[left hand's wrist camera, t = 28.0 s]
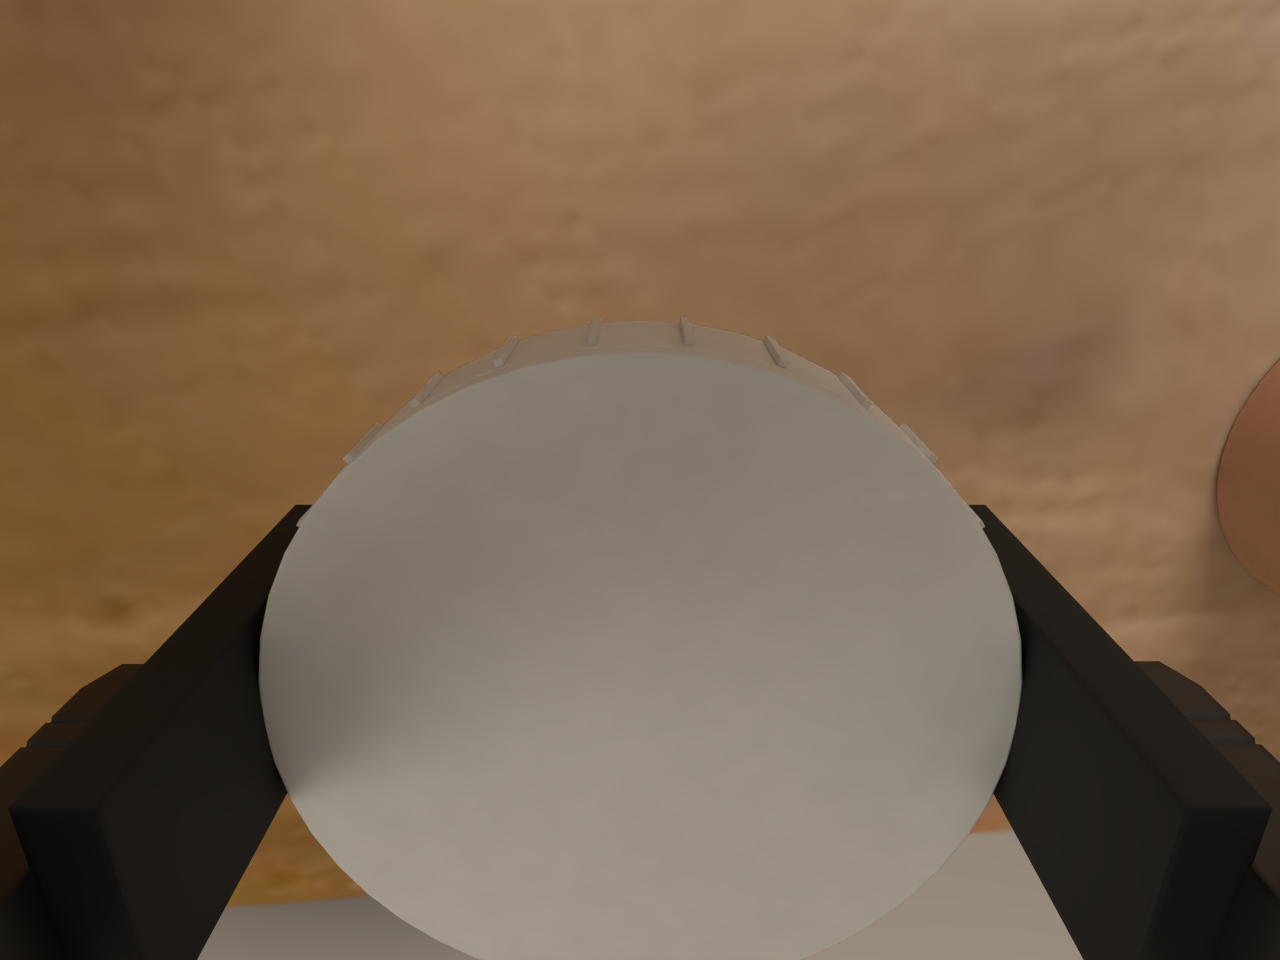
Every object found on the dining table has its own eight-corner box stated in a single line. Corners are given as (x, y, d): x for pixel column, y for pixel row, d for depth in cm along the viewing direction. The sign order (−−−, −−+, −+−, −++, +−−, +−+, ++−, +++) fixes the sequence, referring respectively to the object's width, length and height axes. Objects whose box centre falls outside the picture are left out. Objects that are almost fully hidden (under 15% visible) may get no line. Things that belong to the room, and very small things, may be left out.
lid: (1029, 316, 10) (1101, 347, 9) (928, 894, 14) (967, 994, 12) (251, 314, 10) (181, 346, 9) (351, 893, 14) (312, 992, 12)
